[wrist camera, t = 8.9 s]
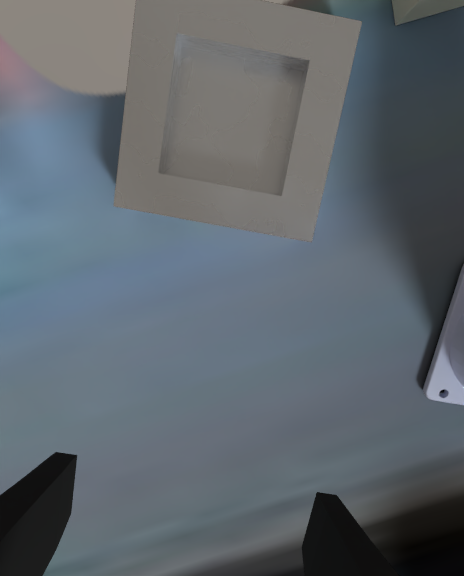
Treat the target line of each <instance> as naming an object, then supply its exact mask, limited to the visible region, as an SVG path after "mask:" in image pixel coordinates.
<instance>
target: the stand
mask: <svg viewBox="0 0 464 576" xmlns="http://www.w3.org/2000/svg"><path fill="white" fill-rule="evenodd" d="M361 24H362V21H358V20H353V19H348V18H343V17H339V16H334V15H329V14H324V13H320V12H315V11H310V10H305V9H300V8H296V7H291V6H286V5H281V4H277V3H272V2H267V1H262V0H136V5H135V14H134V23H133V32H132V41H131V51H130V60H129V69H128V78H127V87H126V96H125V106H124V115H123V124H122V133H121V142H120V152H119V161H118V170H117V179H116V188H115V197H114V206H115V207H121V208H126V209H131V210H137V211H142V212H148V213H153V214H159V215H164V216H170V217H175V218H181V219H186V220H192V221H197V222H203V223H208V224H214V225H219V226H225V227H230V228H236V229H241V230H246V231H252V232H257V233H263V234H268V235H274V236H279V237H285V238H290V239H296V240H301V241H307V242H312V239H313V234H314V230H315V226H316V221H317V217H318V212H319V208H320V204H321V199H322V195H323V191H324V186H325V182H326V177H327V173H328V169H329V164H330V160H331V156H332V151H333V147H334V142H335V138H336V134H337V129H338V125H339V121H340V116H341V112H342V107H343V103H344V99H345V94H346V90H347V85H348V81H349V77H350V72H351V68H352V64H353V59H354V55H355V50H356V46H357V42H358V37H359V33H360V29H361Z"/></svg>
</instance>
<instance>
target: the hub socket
mask: <svg viewBox="0 0 464 576" xmlns="http://www.w3.org/2000/svg"><path fill="white" fill-rule="evenodd" d="M392 6H393V12H394V19H395V26H396V25H399V24H403V23H406V22H410V21H413V20H417V19H420V18H424V17H427V16H430V15H434V14H437V13H441V12H444V11H448V10H451V9H455V8H458V7H462V6H464V0H392Z"/></svg>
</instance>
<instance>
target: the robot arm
mask: <svg viewBox="0 0 464 576" xmlns="http://www.w3.org/2000/svg"><path fill="white" fill-rule="evenodd" d="M444 389H445V391H444V393H443V394H439V392H440V391H441V390H444ZM423 392H424V394H425V395H426V396H427V397H428V398H429V399H431V400H435V401H441V402H447V403H453V404H459V405H464V264H463V266H462V269H461V272H460V276H459V279H458V282H457V285H456V288H455V291H454V294H453V297H452V300H451V304H450V307H449V310H448V313H447V316H446V319H445V322H444V325H443V328H442V331H441V335H440V338H439V341H438V344H437V347H436V350H435V353H434V356H433V359H432V363H431V366H430V369H429V372H428V375H427V378H426V381H425V384H424V387H423ZM76 461H77V455H72V454H65V453H59V452H56V453H54V454H53V455H51V456H50V457H49V458H48V459H46V460H45V461H44V462H42V463H41V464H40V465H39V466H37V467H36V468H35V469H34V470H32V471H31V472H30V473H29V474H27V475H26V476H25V477H24V478H22V479H21V480H20V481H18V482H17V483H16V484H15V485H13V486H12V487H11V488H9V489H8V490H7V491H5V492H4V493H3V494H1V495H0V576H42V575H43V574H44V572H45V570H46V568H47V566H48V564H49V562H50V561H51V559H52V557H53V555H54V553H55V551H56V549H57V546H58V544H59V542H60V539H61V537H62V535H63V532H64V530H65V527H66V525H67V522H68V520H69V517H70V515H71V509H72V500H73V490H74V480H75V471H76ZM302 554H303V564H304V573H305V576H399V575H398V574H397V573H396V571H395V570H394V569H393V568H392V566H391V565H390V564H389V563H388V562H387V560H386V559H385V558H384V557H383V555H382V554H381V553H380V552H379V550H378V549H377V548H376V546H375V545H374V544H373V543H372V541H371V540H370V539H369V537H368V536H367V535H366V534H365V532H364V531H363V530H362V528H361V527H360V526H359V524H358V523H357V522H356V520H355V519H354V518H353V516H352V515H351V513H350V512H349V511H348V509H347V508H346V507H345V505H344V504H343V503H342V501H341V500H340V499H339V498H338V496H337V495H332V494H326V493H319V492H317V493H316V497H315V501H314V504H313V508H312V512H311V515H310V519H309V523H308V526H307V530H306V534H305V537H304V541H303V545H302Z"/></svg>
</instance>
